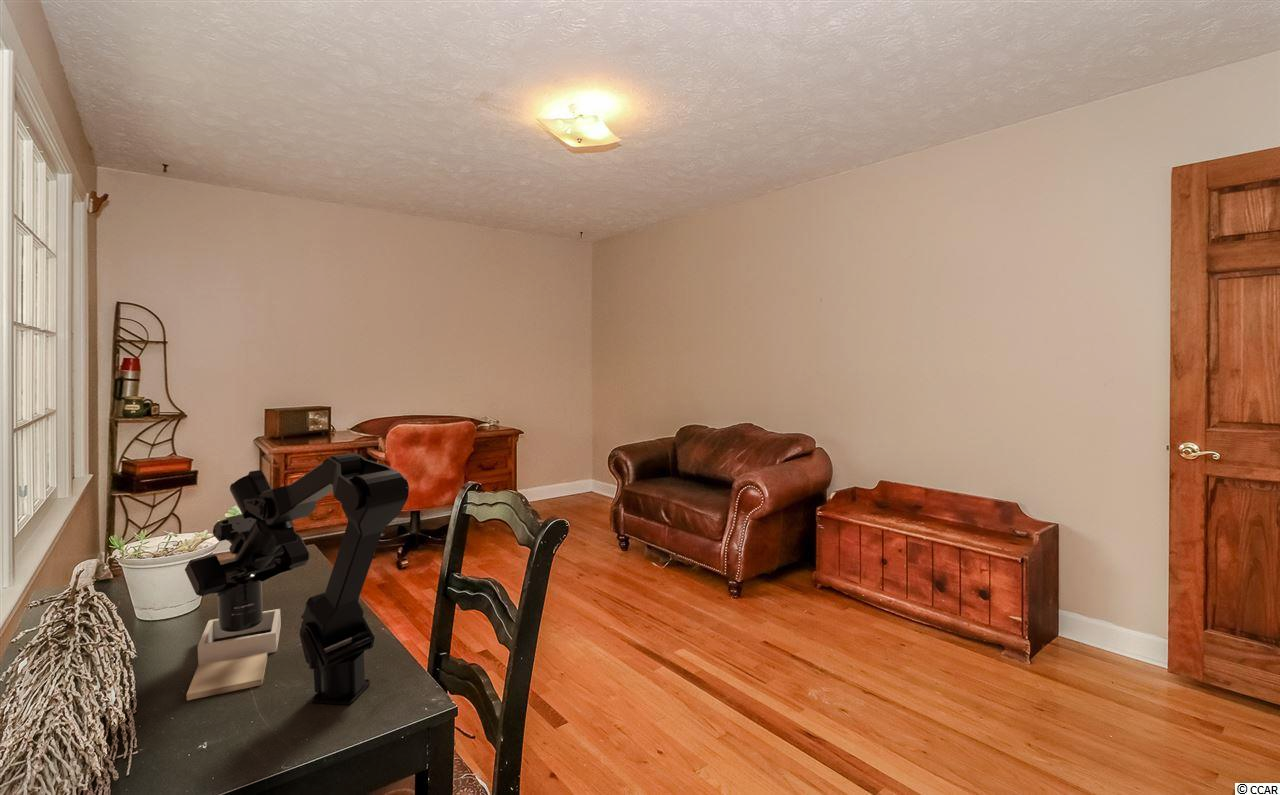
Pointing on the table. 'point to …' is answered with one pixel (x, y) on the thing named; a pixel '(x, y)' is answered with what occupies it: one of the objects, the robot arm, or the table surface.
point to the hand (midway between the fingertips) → (236, 588)
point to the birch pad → (227, 676)
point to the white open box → (239, 640)
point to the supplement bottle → (241, 603)
